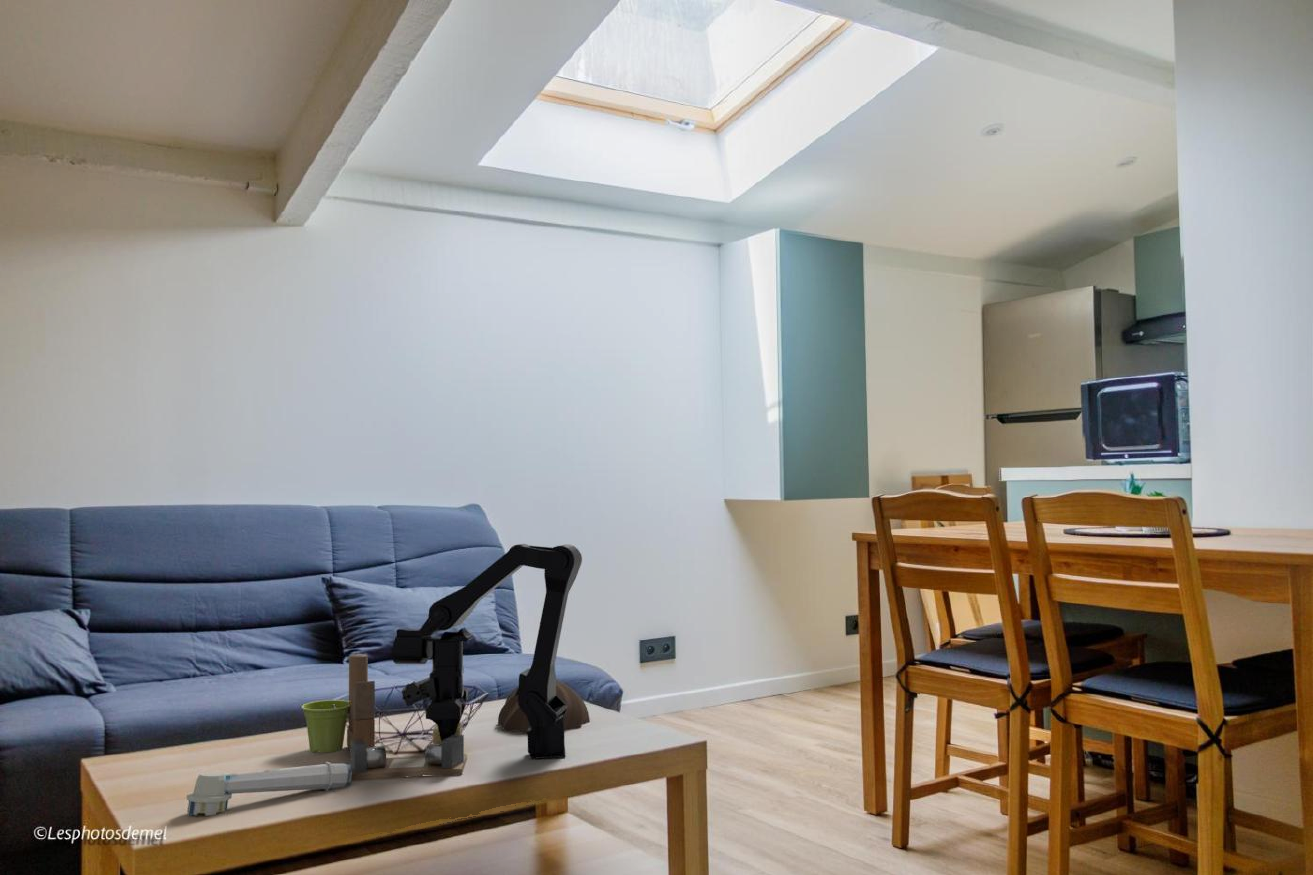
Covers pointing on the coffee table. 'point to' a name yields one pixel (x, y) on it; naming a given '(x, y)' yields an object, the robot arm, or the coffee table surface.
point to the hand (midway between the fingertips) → (447, 747)
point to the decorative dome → (573, 719)
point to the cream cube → (437, 736)
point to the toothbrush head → (262, 784)
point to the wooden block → (361, 702)
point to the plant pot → (326, 724)
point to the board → (407, 769)
